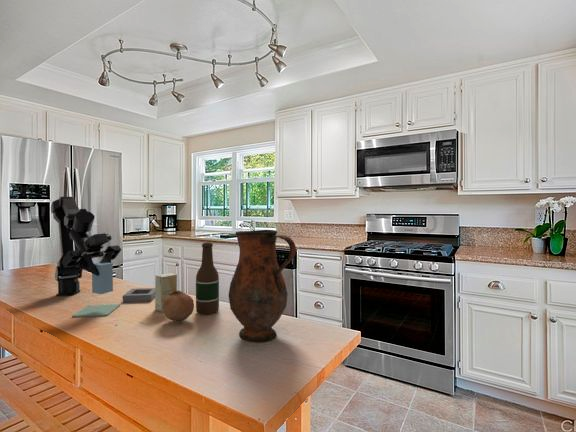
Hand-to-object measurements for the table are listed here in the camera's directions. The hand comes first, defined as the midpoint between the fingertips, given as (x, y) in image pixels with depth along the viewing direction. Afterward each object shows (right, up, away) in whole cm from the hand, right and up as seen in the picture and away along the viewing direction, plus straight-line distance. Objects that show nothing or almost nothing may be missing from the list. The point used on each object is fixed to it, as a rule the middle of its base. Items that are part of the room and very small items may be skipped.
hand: (105, 273), depth 111 cm
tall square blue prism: (-1, -7, +1) cm, 7 cm away
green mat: (-2, -13, 0) cm, 13 cm away
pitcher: (+57, -14, -22) cm, 63 cm away
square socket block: (+6, -13, +16) cm, 21 cm away
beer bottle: (+36, -13, 0) cm, 38 cm away
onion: (+29, -14, -10) cm, 34 cm away
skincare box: (+20, -13, +3) cm, 24 cm away
